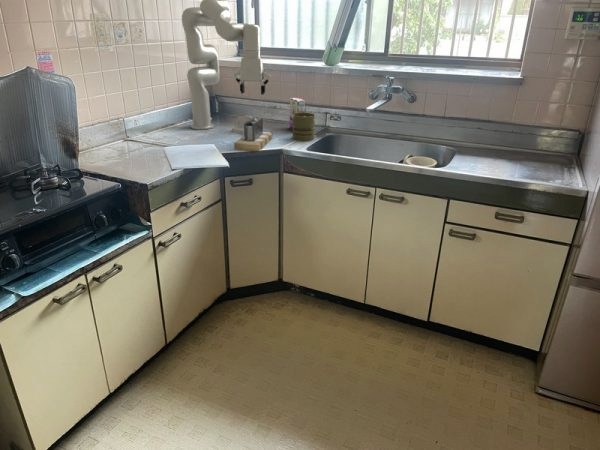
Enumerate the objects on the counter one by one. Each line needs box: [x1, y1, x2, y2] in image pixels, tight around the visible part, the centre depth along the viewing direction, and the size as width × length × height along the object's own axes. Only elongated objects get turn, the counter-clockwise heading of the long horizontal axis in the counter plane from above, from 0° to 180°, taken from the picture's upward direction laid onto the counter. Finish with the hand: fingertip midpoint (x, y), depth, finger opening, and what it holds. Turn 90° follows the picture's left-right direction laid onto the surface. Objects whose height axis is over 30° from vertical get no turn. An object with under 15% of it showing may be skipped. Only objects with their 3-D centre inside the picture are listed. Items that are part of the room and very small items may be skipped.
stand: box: [233, 131, 274, 152], centre depth 216 cm, size 24×12×3 cm, turn 168°
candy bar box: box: [289, 97, 307, 130], centre depth 242 cm, size 11×5×16 cm, turn 25°
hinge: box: [231, 114, 259, 135], centre depth 236 cm, size 17×5×10 cm, turn 51°
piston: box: [291, 112, 316, 142], centre depth 226 cm, size 11×12×11 cm
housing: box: [243, 116, 264, 141], centre depth 214 cm, size 5×14×8 cm, turn 168°
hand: (252, 93), depth 207 cm, fingers open, 9 cm apart
